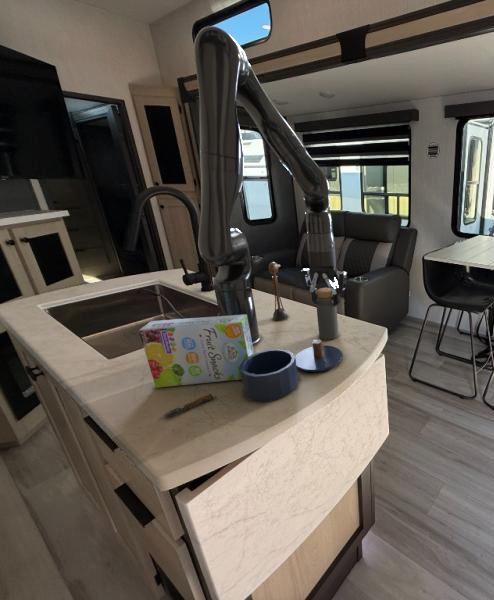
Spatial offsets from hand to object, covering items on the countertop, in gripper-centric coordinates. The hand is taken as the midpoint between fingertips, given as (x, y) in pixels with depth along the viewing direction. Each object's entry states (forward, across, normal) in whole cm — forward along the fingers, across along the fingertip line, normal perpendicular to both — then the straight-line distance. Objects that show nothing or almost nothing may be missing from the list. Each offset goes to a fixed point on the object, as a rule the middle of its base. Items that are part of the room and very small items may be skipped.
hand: (326, 304), depth 95 cm
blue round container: (+11, +1, +27) cm, 29 cm away
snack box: (+11, +18, +28) cm, 35 cm away
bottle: (+11, 0, 0) cm, 11 cm away
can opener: (+11, +13, +38) cm, 42 cm away
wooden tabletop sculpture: (+11, +23, -9) cm, 27 cm away
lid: (+10, -4, +14) cm, 18 cm away
